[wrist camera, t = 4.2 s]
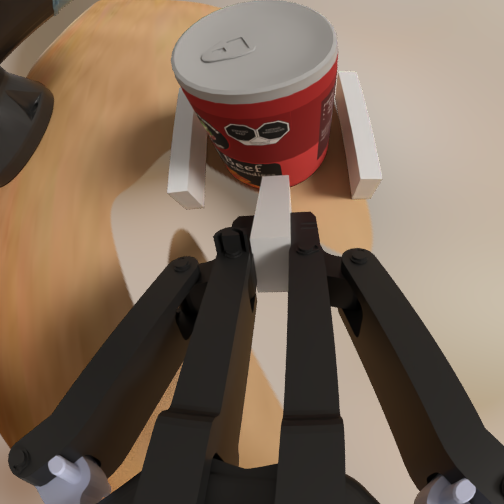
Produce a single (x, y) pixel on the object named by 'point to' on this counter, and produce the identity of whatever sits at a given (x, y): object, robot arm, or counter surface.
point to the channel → (353, 131)
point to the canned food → (262, 86)
